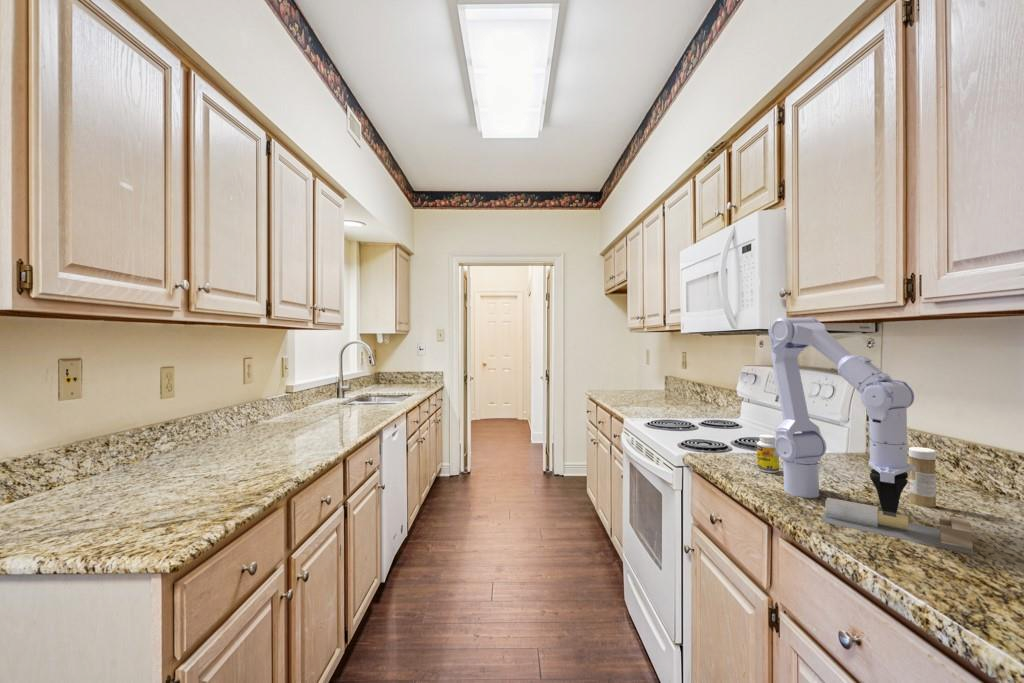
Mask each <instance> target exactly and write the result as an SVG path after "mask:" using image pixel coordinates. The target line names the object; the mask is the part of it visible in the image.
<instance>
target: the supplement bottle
mask: <svg viewBox="0 0 1024 683" xmlns="http://www.w3.org/2000/svg"><path fill="white" fill-rule="evenodd" d="M775 440H776V435H771V434H760V435H759V440H758V441H756V468H757V470H758V471H760V472H763V473H769V474H775V473H778V472H779V471H780V456H779V454H778V453H777V451H776V448H775Z"/></svg>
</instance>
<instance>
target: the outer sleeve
mask: <svg viewBox="0 0 1024 683" xmlns="http://www.w3.org/2000/svg"><path fill="white" fill-rule="evenodd" d="M825 499H826V500H825V503H824V504H825V506H824V507H825V509H824V511H825V510H826V517H829V518H834V519H839V520H844V521H848V522H853V523H858V524H863V525H868V526H872V527H877V528H878V514H877V512H878V511H879V506H876V505H869V504H866V503H865V504H864V503H859V502H853V501H850V500H849V501H848V500H843V499H838V498H832V497H826V498H825Z"/></svg>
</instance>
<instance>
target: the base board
mask: <svg viewBox="0 0 1024 683" xmlns="http://www.w3.org/2000/svg"><path fill="white" fill-rule="evenodd" d="M820 522H821V523H825V524H830V525H834V526H838V527H844V528H848V529H853V530H858V531H863V532H866V533H872V534H876V535H881V536H885V537H889V538H895V539H899V540H904V541H909V542H912V543H918V544H923V545H927V546H931V547H936V548H940V549H945V550H949V551H955V552H959V553H963V554H969V555H975V553H974V550H973V549H974V548H973V549H969V548H964V547H960V546H955V545H950V544H945V543H941V538H940V528H937V527H932V526H927V525H921V524H916V523H912V522H908V530H906V529H902V528H897V527H892V526H887V525H882V524H878V528H877V527H872V526H868V525H863V524H858V523H853V522H848V521H844V520H839V519H834V518H829V517H826V510H825V509H824V512H823V514H822V517H821V519H820Z"/></svg>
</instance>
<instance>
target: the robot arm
mask: <svg viewBox="0 0 1024 683" xmlns="http://www.w3.org/2000/svg"><path fill="white" fill-rule="evenodd" d="M767 331H768V336H769V337H768V338H769V341H770V356H771V362H772V367H773V372H774V377H775V383H776V389H777V393H778V398H779V405H780V409H781V415H782V420H783V421H782V422H781V423H780V424H779V425H778V426H777V427H776V429H775V430H774V431H775V448H776V451H777V453H778V454H779V458H780V460H782V461H783V464H782V466H783V491H784V493H786V494H789V495H791V496H794V497H798V498H804V499H805V498H807V499H815V498H818V497H819V496H820V476H819V475H820V473H819V471H820V469H819V462H821V458H822V457H824V455H825V454H826V452H827V443H826V440H825V438H823V436H822V434H821V430H820V427H819V425H817V424H816V423H814V422H813V421H812V420H810V417H809V412H808V408H807V401H806V396H805V392H804V385H803V382H802V377H801V371H800V366H799V360H798V357H799V355H800V354H801V353H802V352H803V351H804V350H805V349H807V348H808V347H810V346H811V347H813V348H814V349H815V350H817V351H818V352H819V353H820V354H822V355H823V356H825V358H827V359H828V360H830V361H831V362H833V363H834V365H836V366H837V373H838V375H839V376H840V377H841V378H842V379H843V380H845V381H846V382H847V383H848V384H849V385H851V386H852V387H853V388H854V389H855V390H856V391H858V392H859V393H860V395H859V396H860V401H861V403H862V404H863V406H864V407H865V408H866V416H868V424H869V426H868V429H869V430H868V432H869V460H868V466H869V467H870V468H871V470H870V473H869V478H870V481H871V482H872V484H873V486H874V488H875V489H876V493H877V497H878V500H879V504H880V508H881V510H882V511H887V512H892V513H896V514H897V512H898V509H899V504H900V498H901V494H902V492H903V490H904V489H905V487H906V486H907V484H908V483H909V481H908V480H909V479H908V477H909V475H908V474H909V473H908V472H910V471H916V466H913V465H910V464H908V462H909V461H908V460H909V459H908V456H909V454H908V420H907V419H908V414H907V413H908V412H907V411H908V410H907V409H908V408H909V407H911V406H912V405H913V404H914V401H915V393H914V391H913V388H912V387H910V385H909V384H908V383H907V382H906V381H904V380H901V379H893V378H892V377H891V375H889V374H888V373H884V372H883V371H882V370H880V368H878V367H877V366H875V364H873V363H872V359H871V358H869V357H868V356H863V355H859V354H855V355H853V354H852V353H851V352H849V350H847V349H846V348H845V347H844V346H843V345H842V344H841V343H840V342H839V341H838V340H837V339H835V337H834V336H833V335H832V334H831V333H829V332H828V331H827V330H826V325H825V324H824V323H822V322H820V320H818V319H817V317H813V316H808V317H807V316H806V317H778V318H776V319H774V320H773V322H772V324H771V325H770V327H768V330H767Z"/></svg>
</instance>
